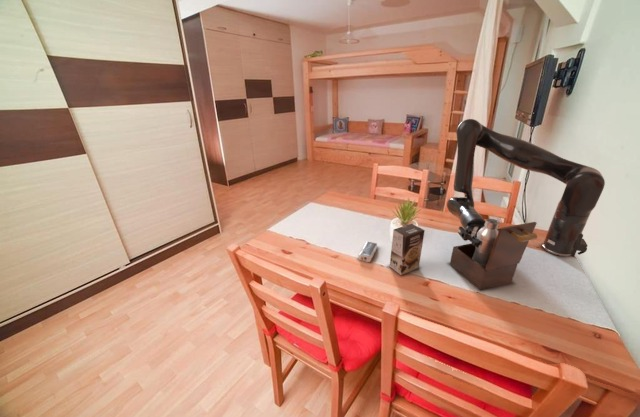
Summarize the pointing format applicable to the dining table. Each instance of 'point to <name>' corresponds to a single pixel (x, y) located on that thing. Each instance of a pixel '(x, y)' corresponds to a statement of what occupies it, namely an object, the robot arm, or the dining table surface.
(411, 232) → the coffee box
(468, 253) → the chest
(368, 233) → the dining table surface
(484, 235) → the silver metal bottle
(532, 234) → the lid
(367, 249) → the multiport hub
